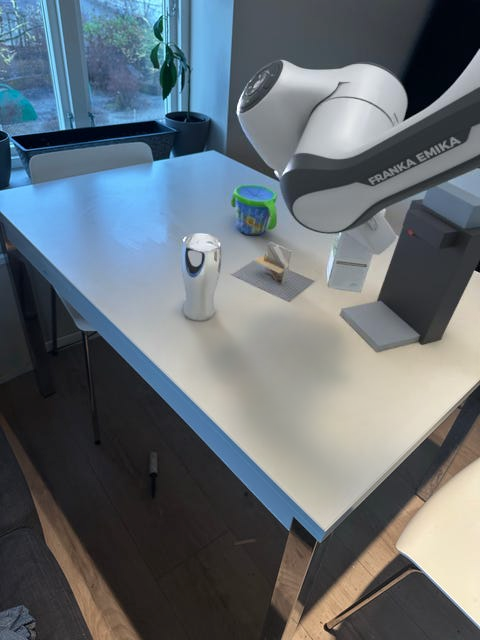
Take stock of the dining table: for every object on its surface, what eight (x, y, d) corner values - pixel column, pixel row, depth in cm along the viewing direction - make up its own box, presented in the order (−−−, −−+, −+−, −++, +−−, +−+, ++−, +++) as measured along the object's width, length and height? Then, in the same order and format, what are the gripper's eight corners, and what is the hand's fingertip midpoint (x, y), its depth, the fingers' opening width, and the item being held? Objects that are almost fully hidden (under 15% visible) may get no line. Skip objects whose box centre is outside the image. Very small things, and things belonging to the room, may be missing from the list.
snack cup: (284, 239, 114) (291, 201, 108) (250, 246, 109) (255, 207, 103) (251, 214, 124) (256, 178, 118) (218, 220, 119) (221, 183, 113)
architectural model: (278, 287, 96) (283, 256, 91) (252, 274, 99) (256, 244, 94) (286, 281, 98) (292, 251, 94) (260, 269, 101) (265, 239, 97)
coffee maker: (380, 355, 81) (434, 217, 65) (336, 311, 91) (374, 181, 74) (440, 339, 87) (504, 208, 70) (394, 299, 96) (440, 176, 80)
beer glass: (194, 327, 82) (198, 255, 73) (173, 308, 86) (174, 238, 77) (224, 314, 86) (231, 245, 77) (202, 297, 90) (206, 229, 81)
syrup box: (361, 293, 73) (389, 209, 64) (325, 288, 73) (348, 204, 64) (358, 275, 77) (383, 195, 68) (324, 270, 77) (344, 189, 69)
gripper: (386, 190, 53) (419, 253, 62) (299, 138, 67) (337, 196, 77) (346, 228, 54) (385, 285, 63) (268, 169, 68) (310, 222, 78)
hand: (358, 235), depth 70 cm, fingers closed on syrup box, 7 cm apart
